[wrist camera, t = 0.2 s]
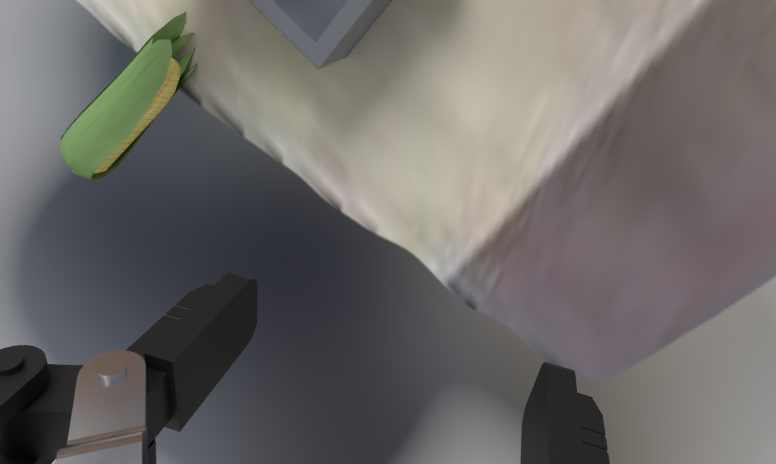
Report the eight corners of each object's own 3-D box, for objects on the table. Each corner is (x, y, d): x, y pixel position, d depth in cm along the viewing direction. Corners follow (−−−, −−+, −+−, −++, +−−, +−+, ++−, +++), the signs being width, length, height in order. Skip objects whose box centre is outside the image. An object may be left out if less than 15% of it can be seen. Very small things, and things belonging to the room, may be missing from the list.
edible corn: (37, 149, 46) (61, 190, 46) (157, -1, 38) (187, 49, 38) (89, 147, 51) (111, 185, 51) (206, 13, 42) (233, 58, 42)
